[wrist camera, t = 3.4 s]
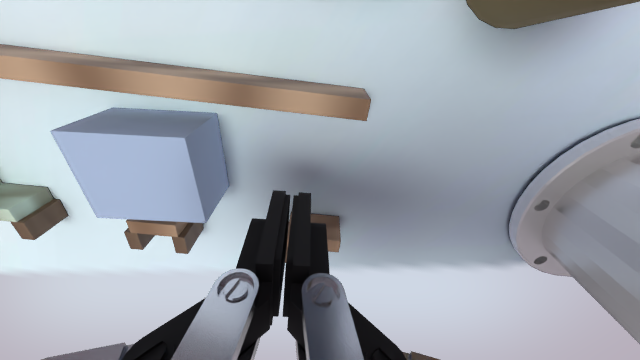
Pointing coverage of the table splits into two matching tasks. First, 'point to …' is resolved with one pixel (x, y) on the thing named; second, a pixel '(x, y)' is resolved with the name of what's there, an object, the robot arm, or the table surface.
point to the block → (147, 163)
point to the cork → (535, 10)
